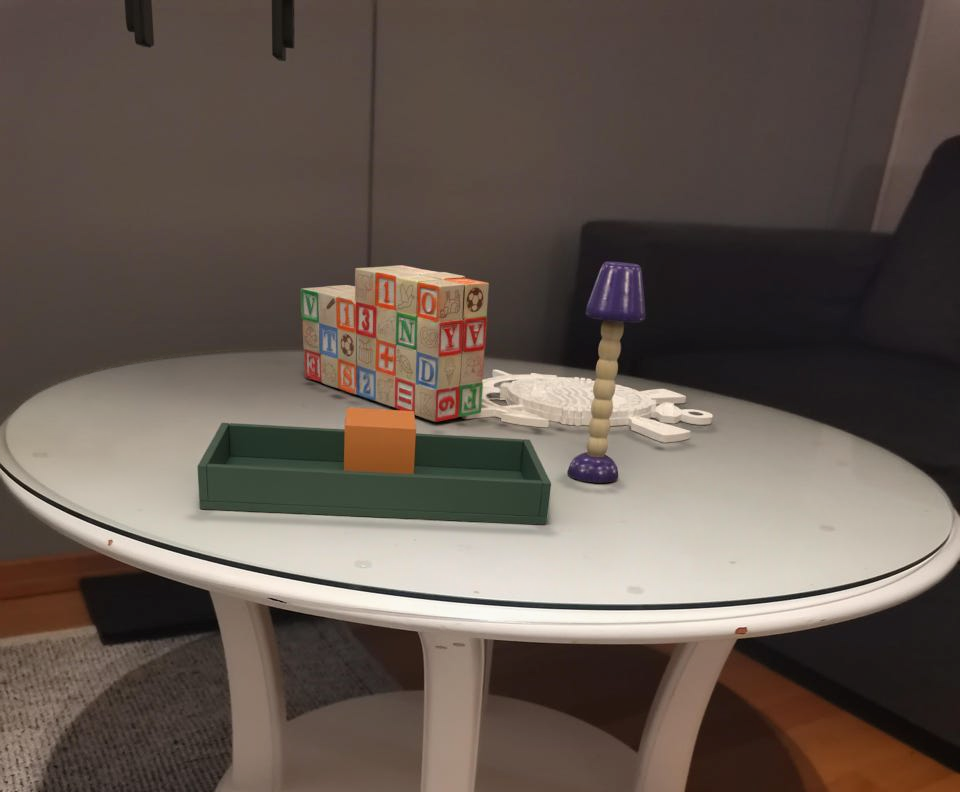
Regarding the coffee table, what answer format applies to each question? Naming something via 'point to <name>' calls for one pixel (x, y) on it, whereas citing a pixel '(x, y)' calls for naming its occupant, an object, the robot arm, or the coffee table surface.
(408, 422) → the orange block
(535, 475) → the tray
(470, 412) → the stack of blocks
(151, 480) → the coffee table surface
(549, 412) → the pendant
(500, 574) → the coffee table surface
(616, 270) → the toy lamp
